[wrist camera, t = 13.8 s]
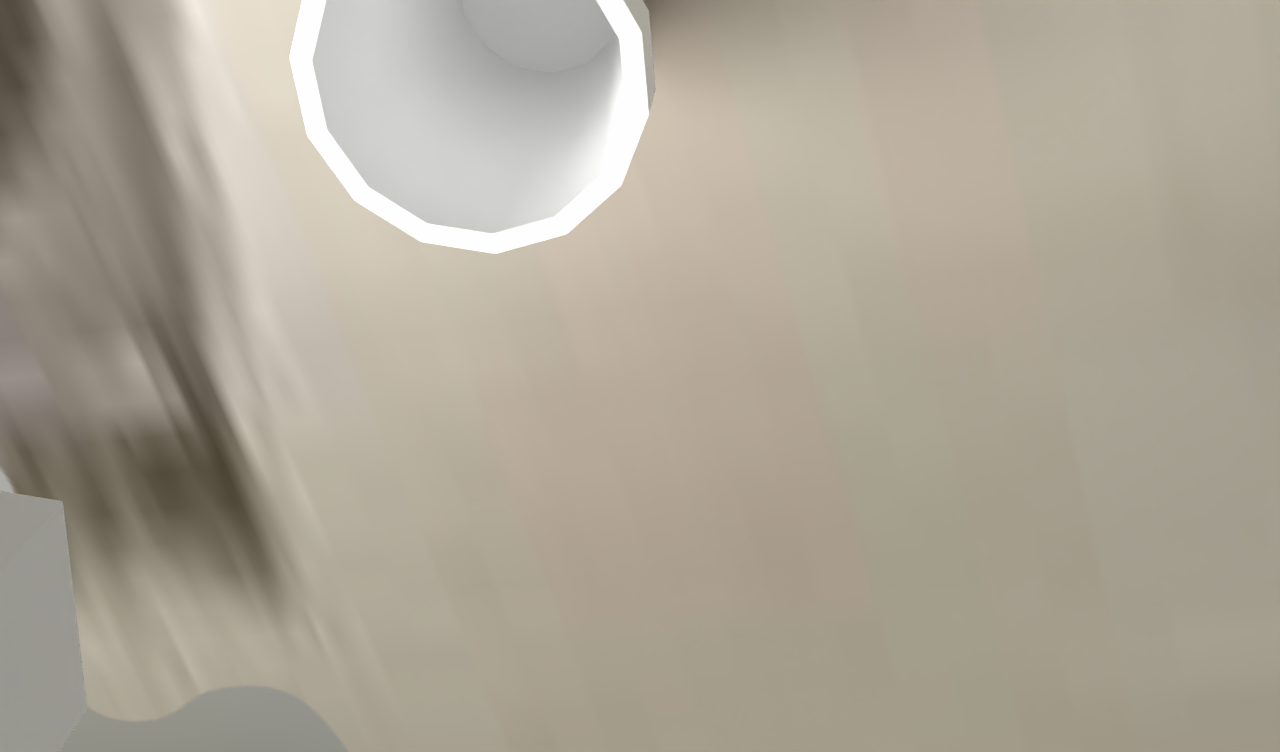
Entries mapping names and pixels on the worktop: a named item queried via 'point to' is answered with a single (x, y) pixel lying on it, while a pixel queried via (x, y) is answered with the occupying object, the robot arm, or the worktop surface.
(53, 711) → the robot arm
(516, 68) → the foam cup
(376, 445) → the worktop surface
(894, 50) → the worktop surface
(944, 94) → the worktop surface
